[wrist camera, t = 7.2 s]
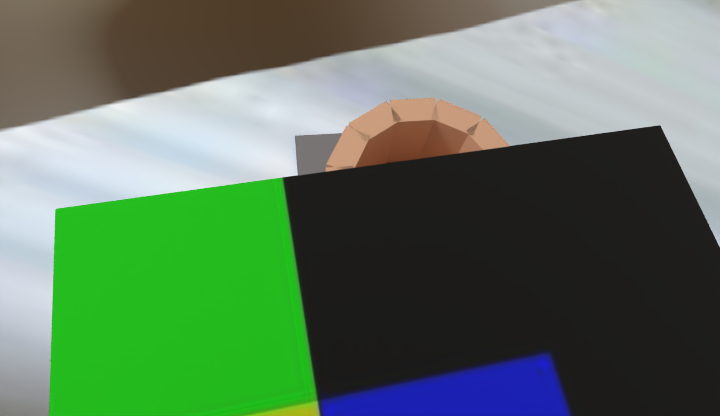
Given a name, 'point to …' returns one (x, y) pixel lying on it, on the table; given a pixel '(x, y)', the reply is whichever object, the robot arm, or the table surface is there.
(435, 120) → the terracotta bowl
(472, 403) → the puzzle toy
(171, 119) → the table surface
